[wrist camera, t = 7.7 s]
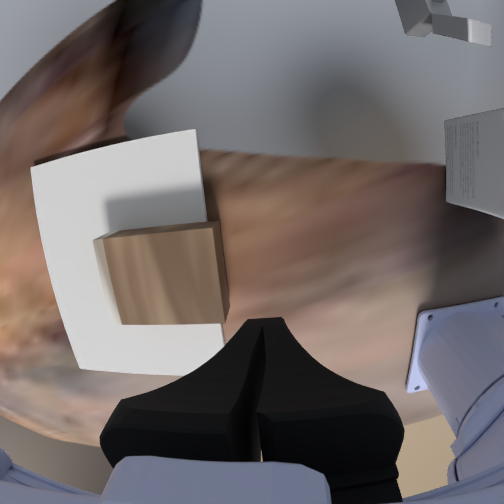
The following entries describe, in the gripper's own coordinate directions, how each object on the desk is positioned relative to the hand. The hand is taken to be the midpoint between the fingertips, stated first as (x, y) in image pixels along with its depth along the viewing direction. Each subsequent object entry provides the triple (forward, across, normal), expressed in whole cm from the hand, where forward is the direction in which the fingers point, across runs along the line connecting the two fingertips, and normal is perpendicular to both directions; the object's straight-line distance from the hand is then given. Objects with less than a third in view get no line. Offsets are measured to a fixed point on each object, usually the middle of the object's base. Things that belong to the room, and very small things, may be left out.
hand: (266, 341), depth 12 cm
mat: (+10, +11, 0) cm, 15 cm away
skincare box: (+11, -16, -6) cm, 20 cm away
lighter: (+11, -12, -16) cm, 23 cm away
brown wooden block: (+9, +3, 0) cm, 9 cm away
